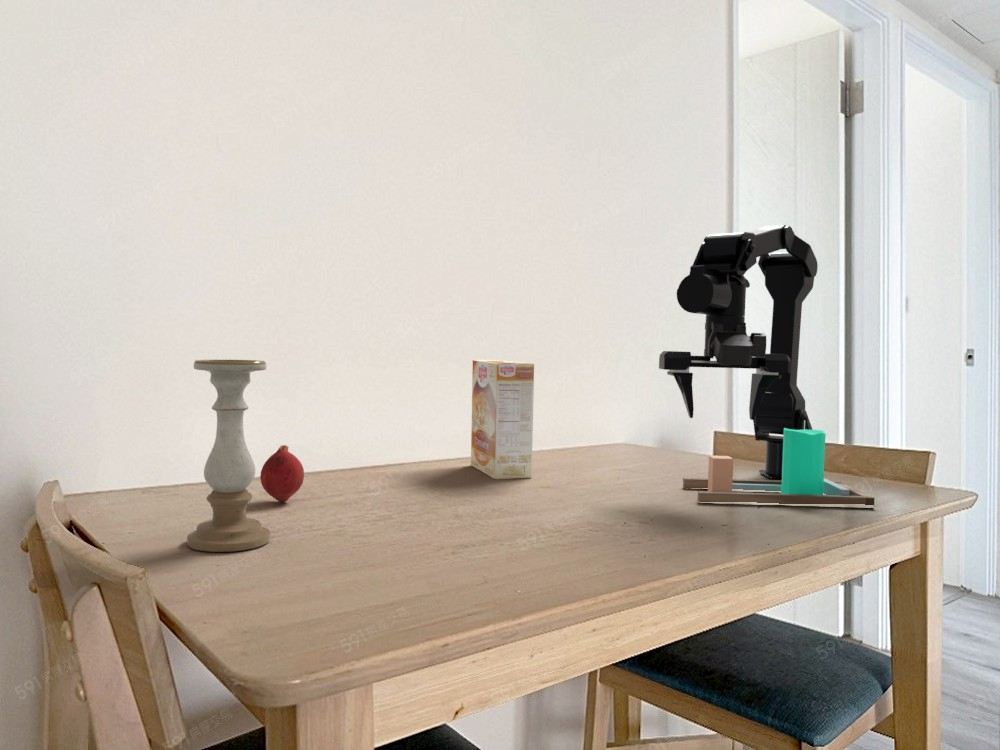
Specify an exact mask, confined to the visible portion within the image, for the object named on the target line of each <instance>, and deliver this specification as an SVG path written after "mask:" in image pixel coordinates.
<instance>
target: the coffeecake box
mask: <svg viewBox="0 0 1000 750" xmlns="http://www.w3.org/2000/svg"><path fill="white" fill-rule="evenodd" d="M534 374H535V363H529V362H521V361H512V360H499V359H473V360H472V380H471V381H472V382H471V385H472V386H471V391H472V393H471V395H472V396H471V435H470V436H471V438H470V439H471V446H470V449H471V450H470V466H471V467H473V468H475V469H476V470H478V471H480V472H482V473H483V474H486V475H487V476H488V477H490V478H492V479H494V480H510V479H512V480H513V479H514V480H515V479H531V478H533V435H534V434H533V431H534V391H535V389H534V386H535V385H534V383H535V381H534V380H535V375H534Z"/></svg>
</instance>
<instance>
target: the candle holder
mask: <svg viewBox="0 0 1000 750" xmlns="http://www.w3.org/2000/svg"><path fill="white" fill-rule="evenodd" d="M193 369H194V370H197V371H205V372H208V373H210V379H209V382H210V384H211V385H212V386H214V388H215V391H216V392H217V398H216V400H215V402H214V403H213V405H212V407H211V409H212V410H214V411H215V413H216V433H215V440H214V443H213V446H212V448H211V451H210V452H209V455H208V456H207V460H206V462H205V465H204V469H203V476H204V481H205V483H206V485H208V487H210V488H211V490H212V491H211V492H210V493H209V494H208V495H207V496H206V501H207V502H208V503H209V504H210V507H211V510H212V519H208V520H204V521H202V522H200V523H199V524H198V525H197V526H196V529H195V530H193V531H191V532H190V533H188V534H187V538H186V543H187V546H188V548H190V549H192V550H195V551H201V552H210V553H211V552H212V553H216V552H217V553H230V552H240V551H246V550H251V549H252V550H253V549H256V548H259V547H262V546H264V545H266V544H268V543H269V542H270V540H271V532H270V530H269V529H268V528H267V527H263V526H262V523H261V521H259V519H255V518H251V517H247V515H246V513H247V508H248V505H249V502H251V500H252V498H253V495H252V493H251V492H249V491H248V490H247V488H248V487H249V486H250V485H251V484H252V482H253V480H255V479H254V478H255V477H256V466H255V463H254V460H253V457H252V455H251V453H250V450H249V449H248V446H247V443H246V441H245V436H244V435H245V433H244V415H245V411H247V410H248V409H249V405H248V404H247V403H246V400H245V399H244V391H245V388H246V387H247V386H248V385H249V384H251V373H253V372H257V371H258V372H259V371H266V370H267V363H266V361H264V360H256V359H255V360H251V359H197V360H196V359H195V361H194V363H193Z"/></svg>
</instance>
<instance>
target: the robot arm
mask: <svg viewBox="0 0 1000 750" xmlns="http://www.w3.org/2000/svg"><path fill="white" fill-rule="evenodd" d="M781 250H786V251H781ZM776 251H777V252H776ZM757 258H758V262H757ZM817 260H818V259H817V258H816V255H815V252H814V251H813V249H812V246H811V245H810V244H809V243H808V242H807V241H805V240H803V239H802V238H800V237H799V236H798V235H796V234H795V232H794V229H793V228H792V227H791V226H790V225H787V224H778V225H777V224H776V225H766V226H763V227H760V228H758V229H756V230H752V231H749V232H748V231H744V232H743V231H742V232H728V233H714V234H713V233H712V234H708V235H706V236H705V237H704V238H703V242H702V243H701V245H700V247H699V249H698V252H697V254H696V256H695V259H694V261H693V263H692V265H691V266H690V268H689V270H690V271H689V274H688V275H686V276H685V277H684V278H683V279H682V280H681V281H680V283H679V285H678V288H677V289H676V300H677V303H678V304H679V306H680V307H681V309H683V310H684V311H685V312H687V313H690V314H696V315H697V314H698V315H699V314H700V315H705V322H704V330H705V331H704V334H705V335H704V349H703V355H692V354H691V353H692V352H691V351H678V350H675V351H673V350H663V351H662V352H661V353H660V354H659V358H658V369H661V370H664V371H665V370H666V371H667V372H666V373H667V375H668V376H673V378H674V380H675V382H676V384H677V386H678V388H679V390H680V393H681V396H682V400H683V402H684V405H685V409H686V412H687V414H688V417H689V418H690V419H693V418H694V394H693V376H694V373H693V372H690V369H691V368H715V369H716V368H718V369H719V368H723V369H724V368H725V369H754V370H755V369H756V370H755V371H756V373H754V372H753V373H751V382H750V384H751V385H750V394H749V406H748V407H749V408H748V411H749V420H752V422H753V430H754V438H755V439H754V440H755V441H758V442H759V441H763V442H766V443H765V444H766V447H765V448H766V449H765V467H764V468H765V469H759V470H758V473H759V472H761V473H762V474H761V473H760V474H761V475H763V474H764V475H765V476H764V475H763V476H764V477H766V476H767V477H766V478H768V477H772V478H771V479H780V478H782V459H783V433H784V428H787V429H793V430H804V420H805V429H808V430H814V429H813V426H812V424H811V421H810V418H809V416H808V413H807V410H806V399H805V398H804V396H803V394H802V392H801V390H800V389H799V387H798V385H797V383H798V382H797V381H798V368H799V356H800V355H799V354H800V353H799V352H800V338H801V337H800V336H801V322H802V311H803V310H802V308H803V302H804V301H805V299H806V298H807V297H808V296H809V294H810V293H811V291H812V290H813V288H814V283H815V277H817V276H816V275H817V274H818V266H819V265H818V261H817ZM756 264H757V266H758V267H759V269H760V270H761V273H762V275H763V276H764V286H765V288H766V290H767V291H768V293H769V295H770V297H771V299H772V301H773V305H772V318H771V319H772V320H771V321H772V322H771V332H770V334H771V335H770V345H769V346H770V349H769V350H770V351H769V353H767V335H766V333H765V332H751V333H750V335H748V333H747V326H746V325H747V323H746V321H745V319H746V317H745V316H746V296H747V295H746V294H747V289H748V288H750V286H751V285H750V282H749V280H748V279H747V278H746V277H745V276H744V275H745V274H746V272H748V271H749V270H750V269H751V268H752V267H753V266H754V265H756ZM714 358H715V360H711V359H714Z"/></svg>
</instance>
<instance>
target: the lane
mask: <svg viewBox="0 0 1000 750" xmlns="http://www.w3.org/2000/svg"><path fill="white" fill-rule="evenodd" d="M833 482H834V483H836V484H838V485H840V486H842V487H845V488H847V489H849V496H844V495H810V494H781V493H753V492H708V490H702V491H701V490H699V491H698V490H697V502H698V501H699V502H757V503H779V504H865V505H874V506H875V497H874V496H872V495H869V494H867V493H865V492H863V491H861V490H859V489H856V488H854V487H852V486H849V484H848V485H847V484H846V483H843V482H841V481H833ZM733 483H741V484H775V485H782V480H775V479H773V480H772V479H771V480H770V479H742V478H737V479H736V478H733ZM683 487H684V488H708V477H706V478H704V477H683V478H682V488H683ZM684 488H683V489H684Z"/></svg>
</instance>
